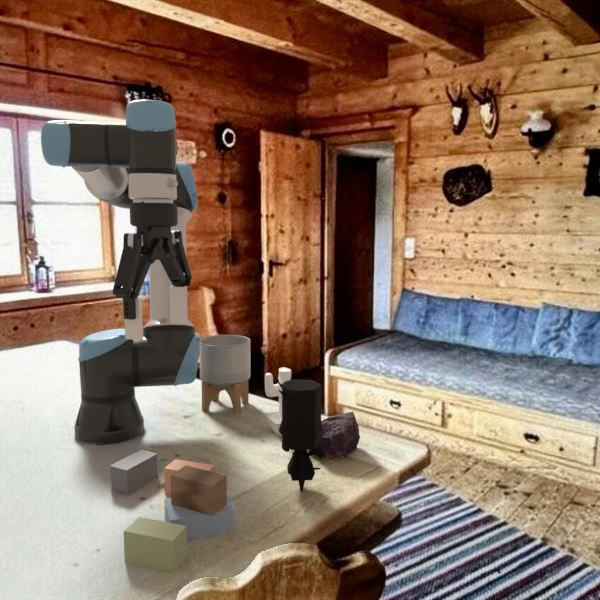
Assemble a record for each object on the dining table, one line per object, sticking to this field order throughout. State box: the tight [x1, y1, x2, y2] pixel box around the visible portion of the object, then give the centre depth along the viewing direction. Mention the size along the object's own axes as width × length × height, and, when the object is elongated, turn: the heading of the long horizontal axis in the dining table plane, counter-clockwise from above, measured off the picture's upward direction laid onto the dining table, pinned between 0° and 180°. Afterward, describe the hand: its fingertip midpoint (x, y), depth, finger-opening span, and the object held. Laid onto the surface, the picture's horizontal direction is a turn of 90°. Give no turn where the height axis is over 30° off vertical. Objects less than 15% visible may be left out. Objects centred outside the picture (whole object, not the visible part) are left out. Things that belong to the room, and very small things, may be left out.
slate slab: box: [164, 495, 235, 541], centre depth 92 cm, size 10×7×4 cm
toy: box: [276, 379, 327, 493], centre depth 103 cm, size 8×9×20 cm
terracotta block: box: [163, 459, 216, 496], centre depth 103 cm, size 8×4×5 cm, turn 72°
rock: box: [307, 411, 361, 460], centre depth 119 cm, size 12×9×10 cm
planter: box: [199, 334, 252, 415], centre depth 146 cm, size 13×13×18 cm
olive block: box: [123, 516, 188, 574], centre depth 83 cm, size 8×4×5 cm, turn 72°
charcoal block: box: [109, 449, 159, 497], centre depth 105 cm, size 8×4×5 cm, turn 152°
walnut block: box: [170, 465, 228, 516], centre depth 91 cm, size 8×4×5 cm, turn 64°
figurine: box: [264, 366, 292, 437], centre depth 130 cm, size 7×9×15 cm
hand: (157, 330), depth 95 cm, fingers open, 13 cm apart
